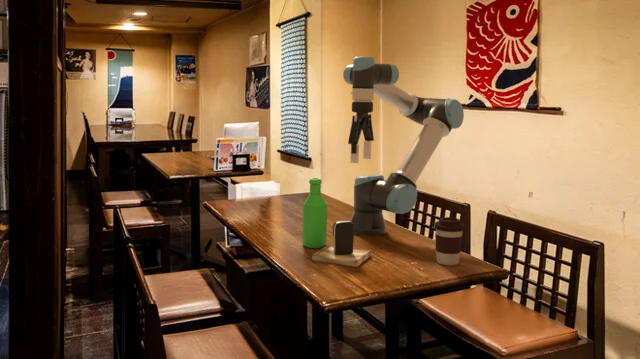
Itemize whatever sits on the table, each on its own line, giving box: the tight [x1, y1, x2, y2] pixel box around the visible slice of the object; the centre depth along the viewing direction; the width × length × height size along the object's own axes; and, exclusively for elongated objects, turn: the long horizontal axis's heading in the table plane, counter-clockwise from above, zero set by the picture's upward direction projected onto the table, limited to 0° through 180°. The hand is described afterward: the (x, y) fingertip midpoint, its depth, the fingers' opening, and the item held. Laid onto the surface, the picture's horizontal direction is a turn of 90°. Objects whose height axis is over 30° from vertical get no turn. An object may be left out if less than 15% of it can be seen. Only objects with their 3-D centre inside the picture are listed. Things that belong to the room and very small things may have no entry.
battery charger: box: [332, 220, 355, 255], centre depth 197 cm, size 7×4×11 cm, turn 109°
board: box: [311, 244, 372, 268], centre depth 197 cm, size 14×16×2 cm
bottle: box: [302, 177, 328, 249], centre depth 210 cm, size 9×9×25 cm
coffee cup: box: [433, 216, 466, 267], centre depth 193 cm, size 10×10×15 cm
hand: (360, 160), depth 208 cm, fingers open, 13 cm apart
